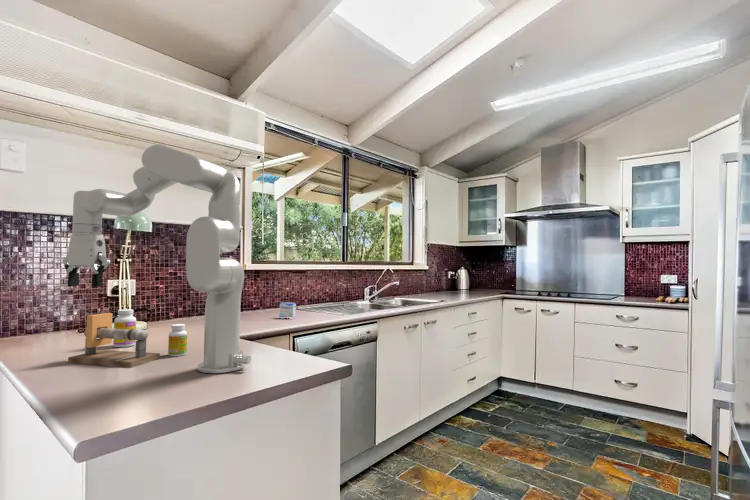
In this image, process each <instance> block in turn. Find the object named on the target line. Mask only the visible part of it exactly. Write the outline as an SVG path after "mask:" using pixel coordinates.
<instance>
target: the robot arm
mask: <svg viewBox="0 0 750 500" xmlns="http://www.w3.org/2000/svg"><path fill="white" fill-rule="evenodd" d="M141 164H142V167H140V168H137V169H136V170H134V172H133V174H132V179H133V180H132V181H133V183H134V185H135V186H136V189H134V190H132V191H130V192H128V193H123V192H119V191H115V190H110V189H106V188H105V189H104V188H96V189H95V188H94V189H92V190H77V191H75V192H74V194H73V206H72V228H71V229H72V230H71V235H70V239H69V244H68V251H67V256H65V257H64V258H62V260H61V261H62V264H63V266H64V269H65V271H66V274H67V276H68V277H67V286H68V287H78V286H79V285H80V273H79V270H80V269H81V267H88V268H89V267H90V269H91V270H92V272H93V273H92V275H91V288H92V287H93V288H98V287H99V288H100V287H102V286H103V279H104V278H103V274H105V273H106V270H107V269H108V266H109V265H110V263H111V260H110V259H109V258H108V257H107V249H106V241H105V240H106V239H105V237H104V235H102V234H103V230H104V228H103V215H110V216H115V217H124V218H125V217H131V216H134V215H136V214H139V213H140V212H142V211H144V210H146V209H147V208H149V207H150V206H151V204H152V203H153V202H154V199H155V197H156V195H157V194H158V193H161V192H163V191H164V190H166V189H168V188H170V187H172V186H174V185H175V184H181V185H184V186H186V187H189V188H194V189H196V190H200V191H204V192H208V193H211V197H210V199H209V201H208V205H207V206H208V207H207V208H208V216H200V217H198V218H196V219H195V220H194V221H192V223H191V224H190V226H189V228H188V229H187V234H186V242H185V243H186V247H185V248H186V249H185V253H186V257H185V260H186V261H185V262H186V263H185V271H186V272H185V273H186V274H185V275H186V279H187V282H188V285H189V286H190V287H191V288H192V289H193V290H195V291H196V292H198V293H208V294H207V296H206V301H205V304H204V305H205V307H204V333H203V336H204V338H203V340H204V341H203V361H202V362H200V363H198V364H197V371H199V372H201V373H205V374H206V373H207V374H224V373H231V372H235V371H239V370H242V369H243V368H244V367H245V366H246V365H250V364H251V359H252V358H251V357H252V356H251V355H244V350H241V349H240V342H241V341H240V337H241V335H240V334H241V330H240V329H241V303H242V291H243V287H244V283H245V282H244V281H245V269H244V268H243V266H242V264H241V263H240V261H238V260H236V259H234V258H231V257H227V256H226V257H225V256H221V253H230V252H233V251H235V250H236V249H238V246H239V245H240V239H241V237H240V236H241V229H240V228H241V227H240V226H241V224H240V222H241V221H240V220H241V219H240V218H241V217H240V216H241V215H240V214H241V212H240V211H241V210H240V208H241V207H240V202H241V185H240V180H239V179H238V177H237V176H236V175H235V173H233V172H232V171H230V170H229V169H227V168H225V167H222V166H221V165H219V164H216V163H214V162H211V161H208V160H205V159H203V158H201V157H198V156H196V155H193V154H190V153H186V152H183V151H181V150H177V149H175V148H171V147H168V146H167V145H164V144H153V145H150V146H148V147H147V148H146V149H145V150H144V152H143V153H142V155H141Z"/></svg>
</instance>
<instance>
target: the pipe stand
mask: <svg viewBox="0 0 750 500" xmlns="http://www.w3.org/2000/svg"><path fill="white" fill-rule="evenodd" d="M86 332H87V328H85V330H84V333H83V335H84V336H85V338H86ZM148 336H149V333H148V331H147V330H146V329H145V330H143V329H136V330H134V329H131V330H128V329H114V328H112V329H108V328H102V327H99V328H97V339H99V338H107V339H112V340H114V339H124V340H135V351H130V350H129V351H128V350H126V351H125V350H110V349H99V350H97V346H96V347H92V348H90V347H86V340H85V341H84V342H85V344H84V345H85V346H84V353H82V354H77V355H73V356H68V357H67V363H68V364H69V363H71V364H81V365H82V364H83V365H97V366H109V367H124V368H133V367H137V366H139V365H143V364H146V363H149V362H153V361H155V360H159V359H160V358H161V353H157V352H148V351H147V339H148Z"/></svg>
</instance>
